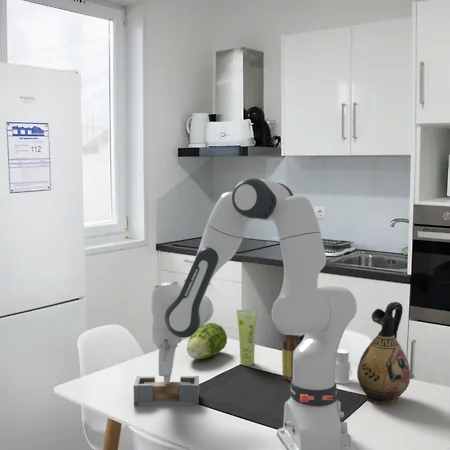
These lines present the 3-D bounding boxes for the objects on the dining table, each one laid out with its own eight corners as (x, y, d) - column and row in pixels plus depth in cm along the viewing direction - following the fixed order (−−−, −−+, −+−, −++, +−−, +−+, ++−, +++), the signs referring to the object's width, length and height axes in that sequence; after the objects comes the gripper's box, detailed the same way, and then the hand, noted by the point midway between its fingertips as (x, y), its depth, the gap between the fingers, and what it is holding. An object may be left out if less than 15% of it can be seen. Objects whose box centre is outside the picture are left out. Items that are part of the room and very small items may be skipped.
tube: (243, 367, 215) (243, 312, 212) (236, 362, 219) (236, 309, 217) (256, 364, 217) (257, 310, 215) (249, 360, 222) (250, 307, 220)
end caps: (198, 394, 189) (198, 376, 188) (198, 405, 181) (198, 385, 180) (137, 395, 189) (136, 376, 188) (133, 405, 181) (133, 385, 180)
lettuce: (177, 364, 218) (177, 333, 216) (202, 347, 237) (202, 319, 235) (207, 368, 213) (207, 336, 212) (229, 351, 232) (229, 322, 231)
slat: (190, 394, 187) (190, 381, 186) (190, 398, 183) (190, 386, 183) (144, 394, 186) (144, 382, 186) (143, 399, 183) (143, 386, 182)
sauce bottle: (301, 375, 206) (302, 317, 204) (301, 382, 200) (302, 322, 198) (281, 374, 207) (282, 317, 205) (281, 381, 201) (282, 322, 199)
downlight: (334, 385, 197) (336, 355, 197) (324, 378, 204) (325, 348, 203) (356, 383, 200) (358, 353, 199) (345, 376, 207) (347, 347, 206)
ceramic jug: (388, 414, 175) (392, 311, 172) (346, 398, 187) (348, 301, 184) (422, 399, 186) (426, 303, 183) (380, 385, 198) (383, 294, 195)
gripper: (175, 345, 172) (176, 393, 174) (178, 326, 193) (179, 369, 194) (153, 346, 172) (153, 393, 173) (158, 326, 192) (159, 369, 194)
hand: (167, 380), depth 184 cm, fingers closed
